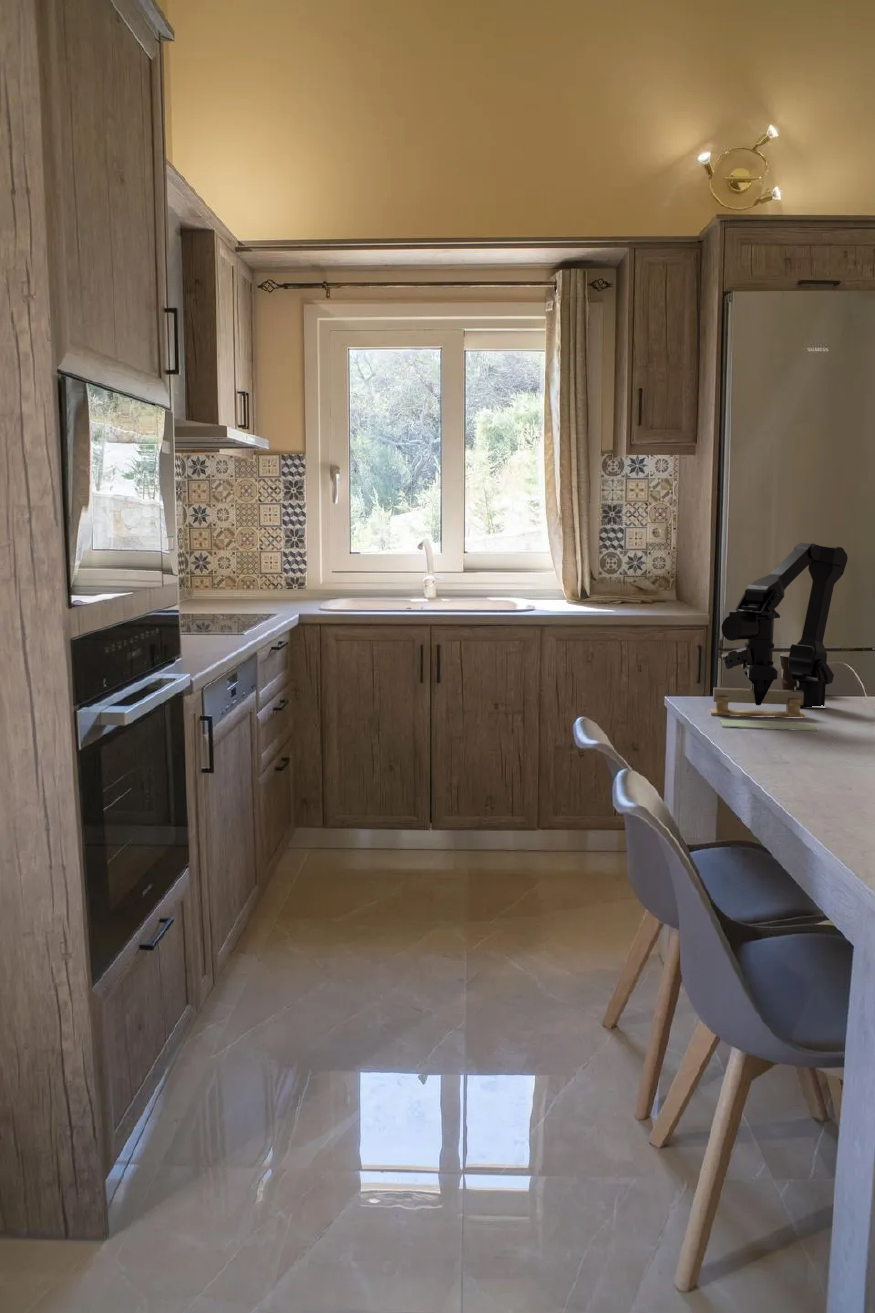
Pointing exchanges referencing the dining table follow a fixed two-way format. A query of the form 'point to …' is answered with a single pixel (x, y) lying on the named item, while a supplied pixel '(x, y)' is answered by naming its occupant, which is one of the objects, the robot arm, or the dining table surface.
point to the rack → (791, 710)
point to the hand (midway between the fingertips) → (757, 704)
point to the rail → (748, 697)
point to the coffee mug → (786, 673)
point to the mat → (768, 725)
